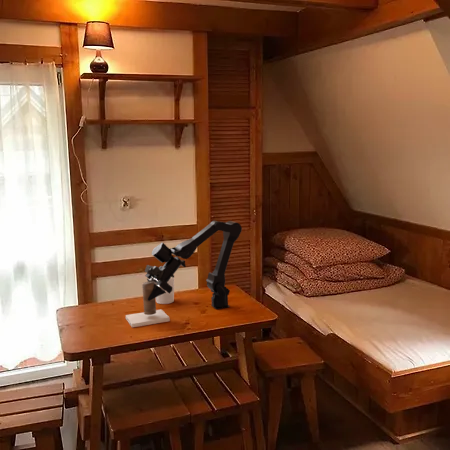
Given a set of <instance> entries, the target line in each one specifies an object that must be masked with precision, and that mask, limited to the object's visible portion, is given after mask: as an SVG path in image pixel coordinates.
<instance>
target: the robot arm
mask: <svg viewBox="0 0 450 450" xmlns="http://www.w3.org/2000/svg"><path fill="white" fill-rule="evenodd" d="M242 230H243V227H242V225H241V224H240V223H238V222H236V221H233V220H228V221H227V222H225V221H217V220H212V221H211V222H210V223H209V224H208V225H206V226H205V227H204V228H202V229H201V230H200V231H199V232H197V233H196V234H195V235H193V236H192V237H191V238H189V239H187V240H184V241H182V242H180V243H178V244H177V245H176V246H174V247H172V248H171V247H170V248H169V247H168V246H167V244H165V243H164V242H161V243H159V244H158V245H157V246H155V247H154V248H153V249H152V251H151V255H152V256H153V257H154V258H155V259H157V261H159V262H160V263H164V264H163V266H162V265H161V266H159V267H158V266H156V265H154V266H153V265H150V264H146V265H145V266H146V267H145V269H144V272H145V273H146V274H145V275H144V276H145V277H146V280H147V281H146V282H154V289H153V290H152V292H151V294H150V295H149V297H148V299H147V300H149V301H150V300H152V299H154V298H155V299H156V297H158V296H160V295H162V294H164V293H166V292H165V291H167V292H168V293H169V294H170V293H171V292H172V287H171V286H170V285H169V284H168V283H167V282H168V281H169V280H170V278H171V277H172V278H173V277H174V278H175V275H174V274H175V273H176V272H177V271H178V270H179V268H180V267H183V268H186V261H185V260H188V259H189V258H191V256H192V255H193V254H195V252H196V250H197V248H198V247H200V245H202V244H203V243H204V242H205V241H207V240H208V239H210V238H211V236H213V235H215V234H216V233H217V232H218V231H220V232H222V235H223V241H222V245H221V247H220V250H219V254H218V258H217V261H216V263H215V267H214V269H213V271H212V272H208V275H207V278H206V281H205V282H206V286H207V288H208V289H209V290H210V291H211V293H212V296H211V304H210V305H211V306H212V307H213V308H214V309H215V310H222V309H228V308H230V307H231V306H230V305H229V295H230V291H231V290H230V289H229V288H228V287H227V286H225V285H226V274H225V273H226V270H227V267H228V263H229V260H230V257H231V253H232V250H233V247H234V244H235V242H236V241H237V240H238V238H240V235H241V233H242Z"/></svg>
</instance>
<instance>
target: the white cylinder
mask: <svg viewBox="0 0 450 450" xmlns="http://www.w3.org/2000/svg"><path fill="white" fill-rule="evenodd" d="M167 283H168V284H169V285H170V286H171V287H172V292H171V293H170V294H169V293H168V292H167V291H165V292H166V293H164V294H162V295H160V296H158V297H156V298H155V302H156V303H157V304H158V305H159V304H161V305H168V304H172V303H174V301H175V276H174V277H173V278H172V277H171V278H170V280H169V281H168V282H167Z"/></svg>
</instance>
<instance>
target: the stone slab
mask: <svg viewBox="0 0 450 450" xmlns="http://www.w3.org/2000/svg"><path fill="white" fill-rule="evenodd" d="M125 320H126V321H127V322H128V324H129V326H130V327H131V328H137V327H143V326H144V327H145V326H149V325H155V324H160V323H166V322H171V319H170V316H169V315H167V313H165V311H164V310H163V309H156V313H155V314H153V315H146V314H144V311H142V312H138V313H130V314H125Z"/></svg>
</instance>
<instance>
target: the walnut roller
mask: <svg viewBox="0 0 450 450" xmlns="http://www.w3.org/2000/svg"><path fill="white" fill-rule="evenodd" d="M141 286H142V287H141V288H142V299H143V301H142V303H143V312H144V314H146V315H153V314H155V313H156V310H157V307H156V306H157V305H156V303H157V302H156V298H154V299H152V300H150V301H149V300H147V299H148V297H149V295H150V294H151V292H152V290H153V289H154V282H148V281H144V282H142V283H141Z"/></svg>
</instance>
